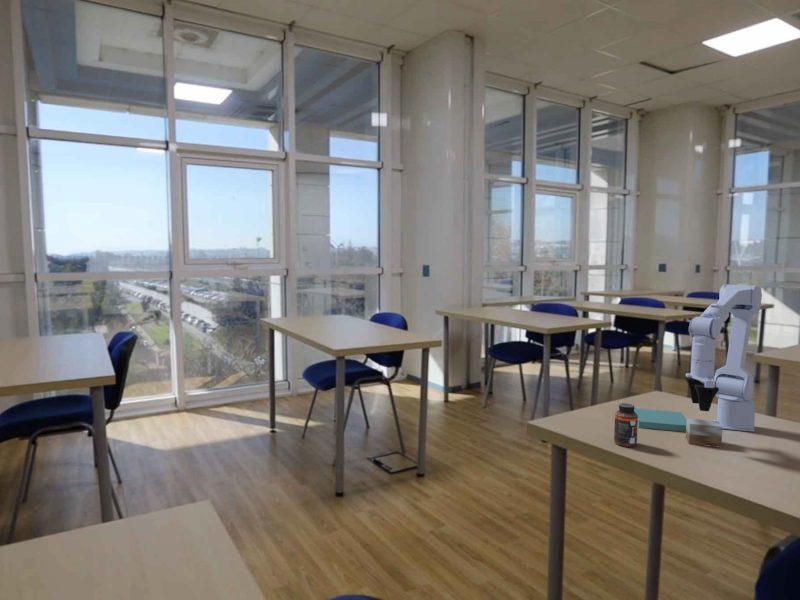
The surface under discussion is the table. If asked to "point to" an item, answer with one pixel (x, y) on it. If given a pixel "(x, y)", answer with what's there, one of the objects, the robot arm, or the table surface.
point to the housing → (703, 432)
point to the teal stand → (661, 420)
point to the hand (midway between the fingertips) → (700, 406)
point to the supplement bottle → (626, 425)
